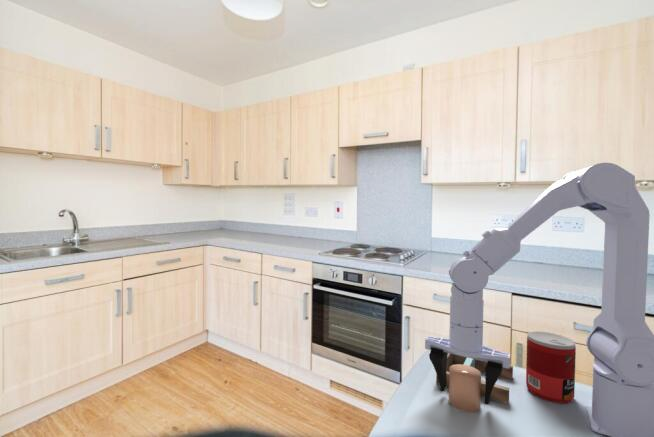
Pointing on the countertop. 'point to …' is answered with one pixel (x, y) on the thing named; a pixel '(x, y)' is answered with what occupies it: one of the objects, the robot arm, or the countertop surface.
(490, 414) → the countertop surface
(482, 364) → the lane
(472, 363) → the plate
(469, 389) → the tan rounded cylinder
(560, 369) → the canned food
